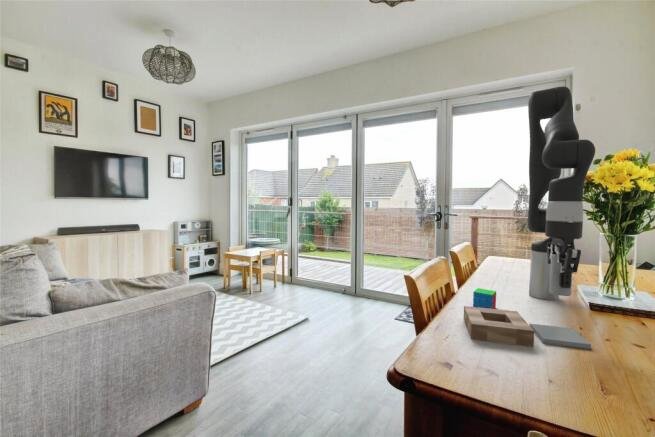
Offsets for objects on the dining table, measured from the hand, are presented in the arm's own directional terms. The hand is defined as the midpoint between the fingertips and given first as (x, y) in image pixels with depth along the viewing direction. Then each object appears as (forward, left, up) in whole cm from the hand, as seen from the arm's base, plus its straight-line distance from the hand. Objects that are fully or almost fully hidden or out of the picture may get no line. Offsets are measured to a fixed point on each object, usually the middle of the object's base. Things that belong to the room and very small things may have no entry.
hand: (560, 284), depth 79 cm
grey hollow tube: (0, 0, -3) cm, 3 cm away
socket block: (+1, -15, -14) cm, 21 cm away
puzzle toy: (-19, -14, -14) cm, 28 cm away
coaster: (0, 0, -14) cm, 14 cm away
